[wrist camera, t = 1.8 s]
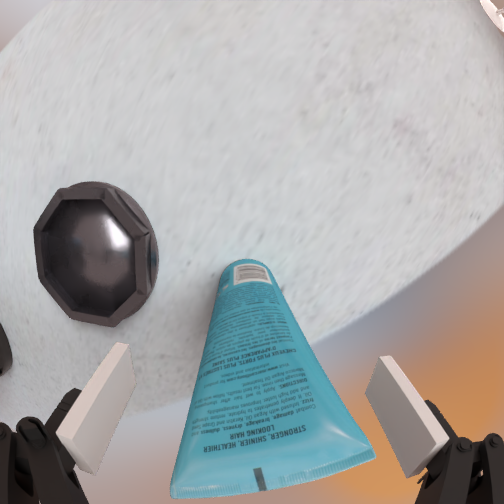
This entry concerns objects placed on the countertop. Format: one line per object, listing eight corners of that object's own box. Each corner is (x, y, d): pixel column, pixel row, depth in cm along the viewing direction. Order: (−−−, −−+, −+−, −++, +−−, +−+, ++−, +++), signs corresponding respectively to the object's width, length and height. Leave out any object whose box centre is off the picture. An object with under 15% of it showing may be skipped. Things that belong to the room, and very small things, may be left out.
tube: (224, 320, 26) (207, 518, 7) (199, 277, 24) (128, 472, 6) (295, 288, 25) (382, 474, 7) (274, 242, 24) (362, 415, 5)
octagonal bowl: (53, 308, 25) (43, 316, 23) (42, 184, 21) (29, 185, 19) (161, 326, 26) (155, 338, 23) (160, 181, 22) (152, 181, 20)
